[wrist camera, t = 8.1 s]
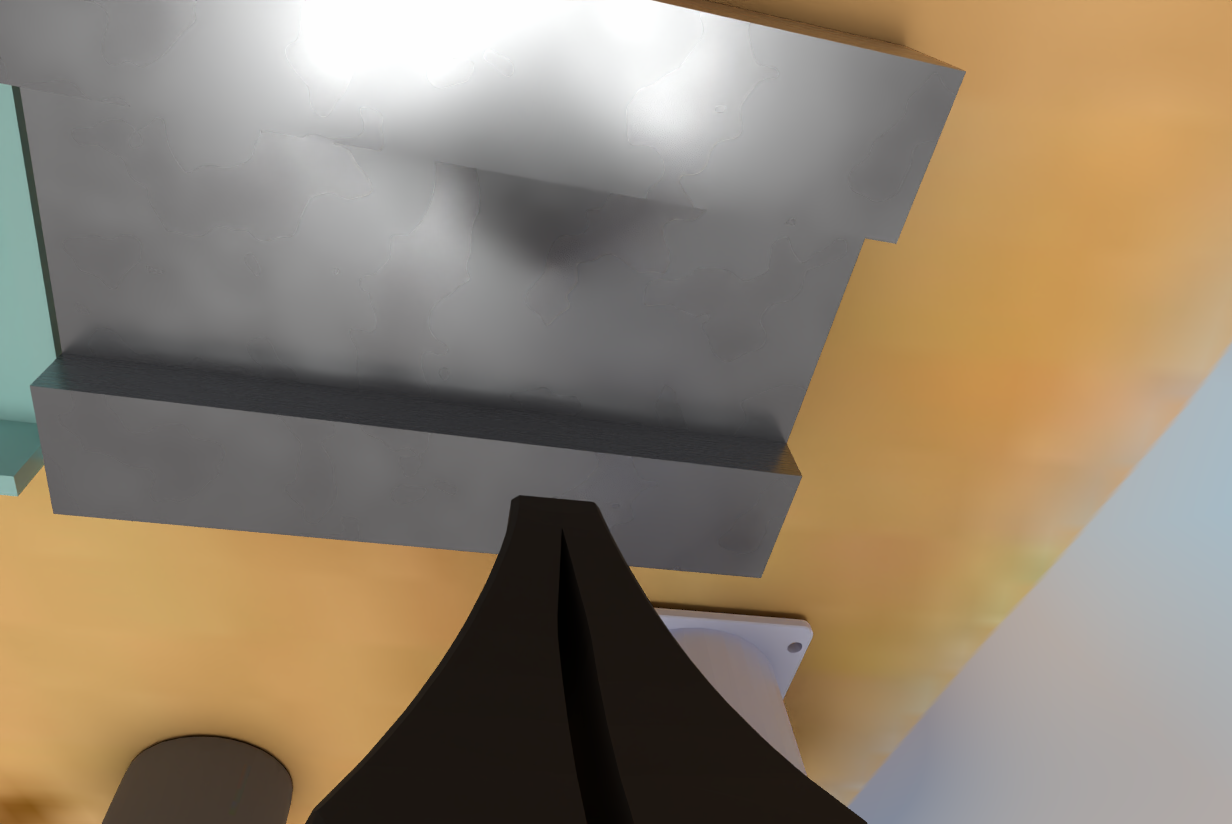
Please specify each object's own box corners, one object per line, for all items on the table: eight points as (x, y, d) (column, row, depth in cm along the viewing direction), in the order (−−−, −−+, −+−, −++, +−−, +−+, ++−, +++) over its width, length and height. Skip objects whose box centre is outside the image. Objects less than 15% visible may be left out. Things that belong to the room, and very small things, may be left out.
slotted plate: (737, 510, 26) (760, 577, 23) (106, 442, 22) (53, 513, 20) (906, 46, 19) (966, 71, 16) (25, -157, 15) (-74, -164, 13)
